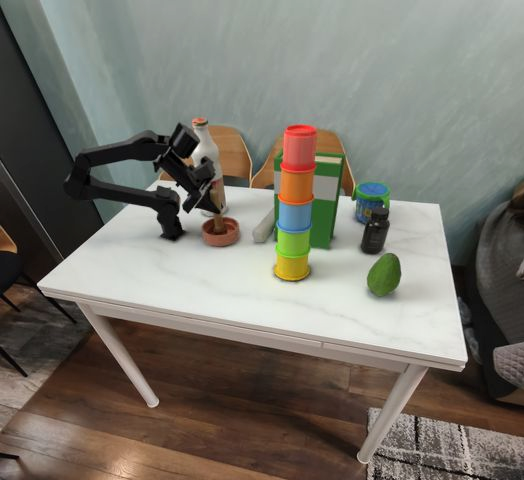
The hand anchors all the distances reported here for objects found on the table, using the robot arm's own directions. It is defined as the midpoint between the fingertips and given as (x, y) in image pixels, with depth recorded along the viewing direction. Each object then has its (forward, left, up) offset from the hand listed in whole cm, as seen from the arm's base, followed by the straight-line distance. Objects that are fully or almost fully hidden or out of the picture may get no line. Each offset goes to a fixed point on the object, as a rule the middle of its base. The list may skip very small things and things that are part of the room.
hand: (221, 211), depth 96 cm
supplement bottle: (+46, +14, -9) cm, 48 cm away
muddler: (-1, 0, -7) cm, 7 cm away
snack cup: (+39, +31, -9) cm, 50 cm away
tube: (+12, +13, -9) cm, 19 cm away
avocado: (+54, -5, -9) cm, 55 cm away
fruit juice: (-13, +13, -9) cm, 20 cm away
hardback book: (+25, +10, -9) cm, 28 cm away
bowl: (0, -1, -8) cm, 8 cm away
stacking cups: (+29, -7, -9) cm, 31 cm away
